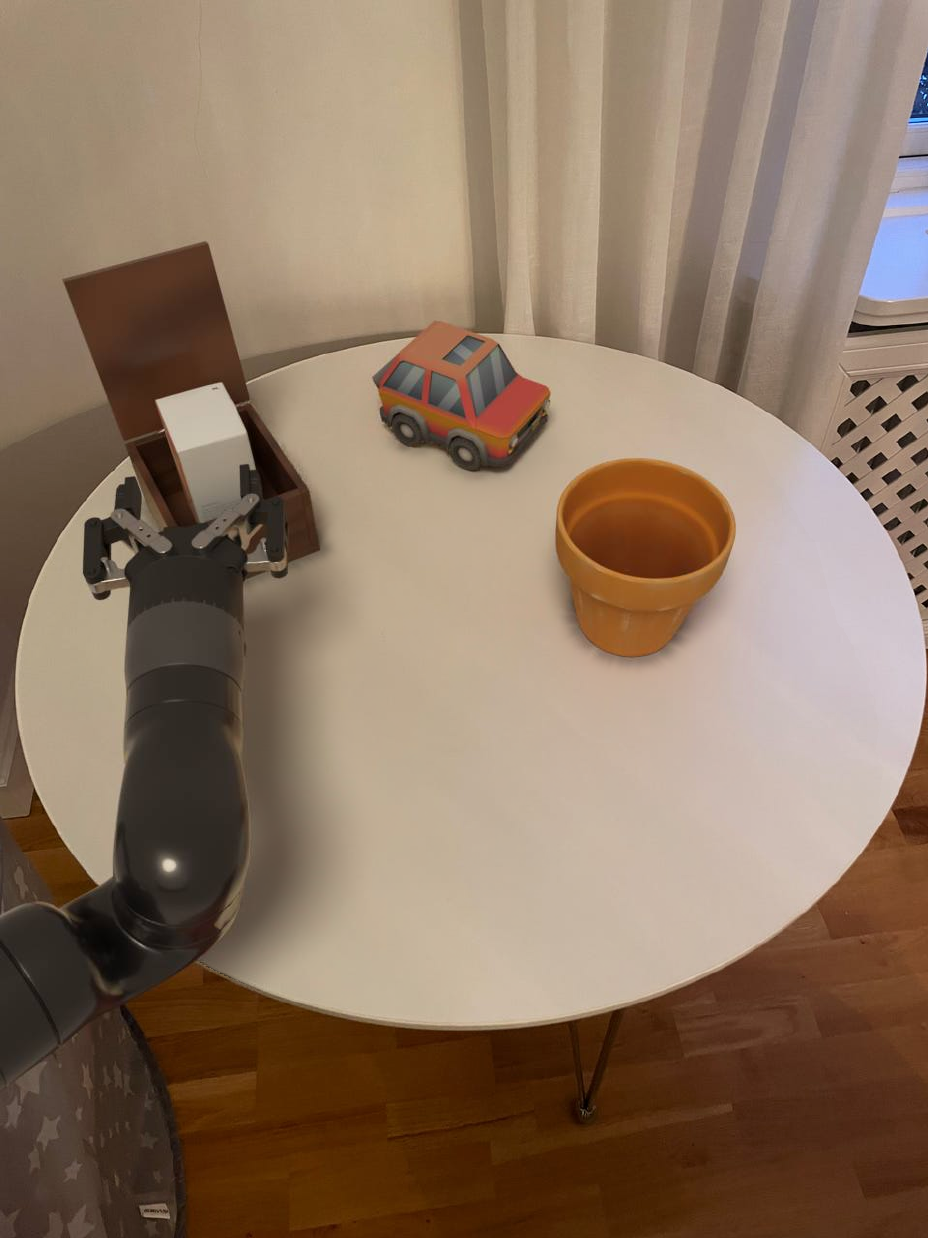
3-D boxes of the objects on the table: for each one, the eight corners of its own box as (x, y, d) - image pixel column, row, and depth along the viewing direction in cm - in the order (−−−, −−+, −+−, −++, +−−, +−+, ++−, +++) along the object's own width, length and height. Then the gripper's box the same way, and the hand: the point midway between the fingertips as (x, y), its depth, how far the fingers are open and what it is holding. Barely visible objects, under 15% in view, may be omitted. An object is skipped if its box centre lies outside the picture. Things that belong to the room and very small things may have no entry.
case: (320, 550, 90) (309, 490, 84) (194, 599, 86) (174, 539, 80) (263, 462, 98) (250, 402, 92) (146, 503, 94) (124, 443, 88)
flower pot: (521, 648, 82) (528, 545, 72) (580, 543, 90) (594, 438, 80) (675, 706, 78) (706, 606, 68) (723, 591, 86) (756, 487, 76)
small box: (187, 505, 93) (153, 397, 83) (248, 486, 94) (222, 379, 84) (209, 559, 88) (175, 452, 78) (273, 538, 90) (249, 431, 80)
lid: (208, 242, 81) (205, 240, 82) (63, 281, 77) (61, 278, 78) (250, 400, 91) (248, 396, 92) (124, 441, 87) (122, 438, 88)
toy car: (502, 486, 96) (506, 407, 88) (368, 431, 101) (360, 352, 94) (556, 425, 102) (563, 346, 94) (427, 376, 107) (423, 298, 100)
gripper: (286, 591, 59) (275, 429, 70) (55, 620, 58) (79, 450, 68) (302, 661, 65) (290, 503, 75) (93, 689, 64) (109, 524, 74)
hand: (190, 478), depth 72 cm, fingers open, 8 cm apart
